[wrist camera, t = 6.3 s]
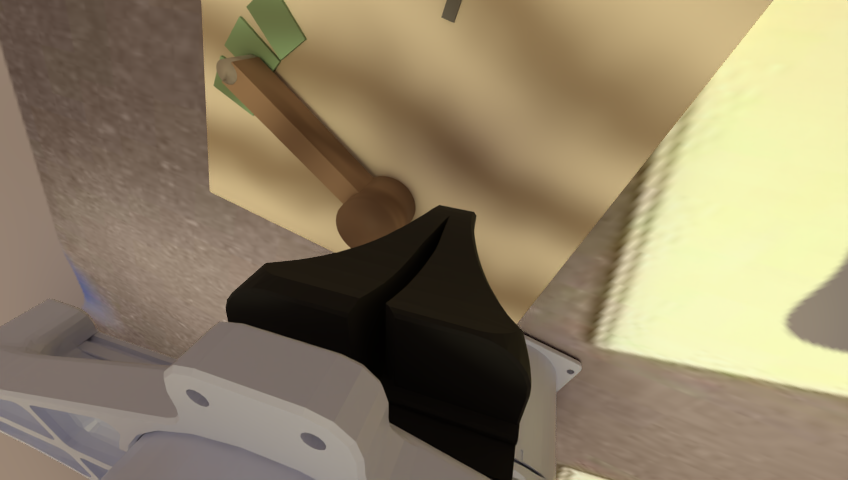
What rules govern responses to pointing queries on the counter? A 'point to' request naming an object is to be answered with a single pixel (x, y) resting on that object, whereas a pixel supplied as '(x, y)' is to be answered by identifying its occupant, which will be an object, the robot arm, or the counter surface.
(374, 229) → the tuning peg
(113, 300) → the counter surface
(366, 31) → the dial board
